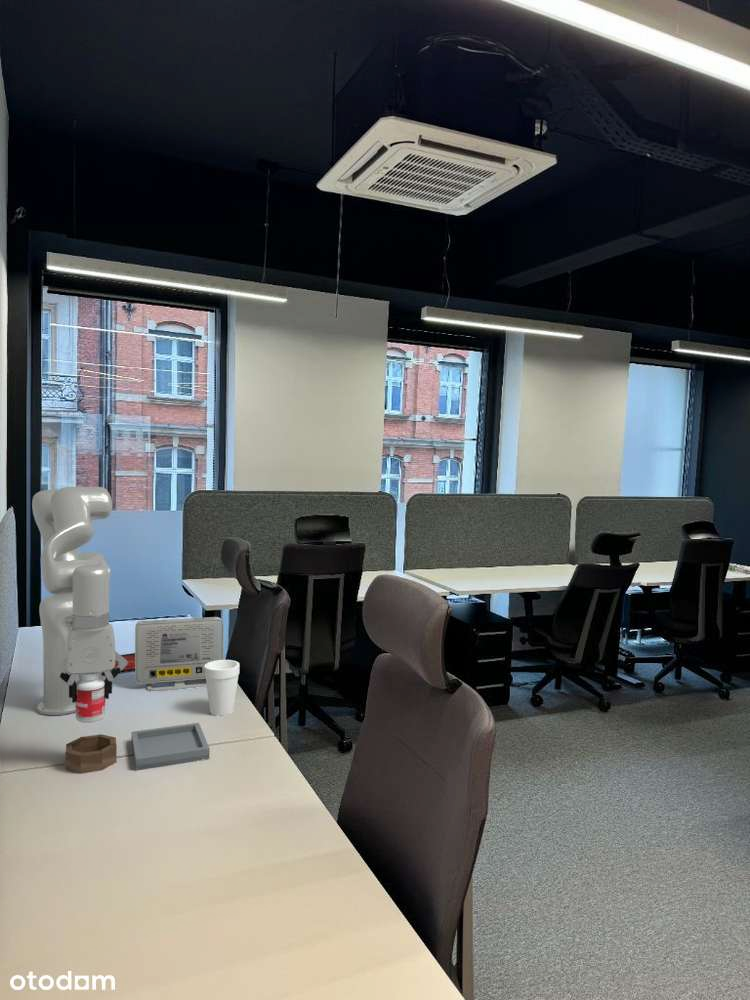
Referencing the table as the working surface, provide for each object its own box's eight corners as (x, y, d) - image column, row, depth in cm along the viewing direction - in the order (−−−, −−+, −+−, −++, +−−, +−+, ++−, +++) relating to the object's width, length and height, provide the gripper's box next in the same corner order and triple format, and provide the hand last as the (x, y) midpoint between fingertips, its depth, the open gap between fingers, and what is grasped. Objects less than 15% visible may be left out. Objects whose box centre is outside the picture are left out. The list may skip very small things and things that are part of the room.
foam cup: (230, 719, 175) (230, 671, 174) (198, 716, 177) (198, 668, 176) (244, 706, 184) (244, 661, 183) (213, 703, 186) (214, 658, 185)
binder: (74, 659, 217) (140, 651, 229) (74, 666, 218) (140, 657, 229) (83, 675, 204) (152, 665, 215) (83, 682, 204) (152, 672, 216)
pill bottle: (70, 717, 148) (70, 670, 148) (97, 710, 153) (97, 664, 152) (83, 726, 145) (84, 677, 144) (110, 718, 149) (110, 670, 148)
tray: (131, 741, 160) (131, 731, 160) (198, 732, 166) (198, 722, 166) (135, 770, 145) (135, 759, 145) (209, 758, 152) (209, 748, 151)
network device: (220, 677, 209) (221, 615, 208) (223, 686, 201) (224, 621, 200) (135, 683, 201) (135, 619, 200) (134, 693, 193) (134, 626, 192)
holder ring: (66, 755, 152) (66, 738, 151) (115, 748, 156) (115, 732, 155) (65, 775, 142) (65, 757, 142) (117, 767, 146) (117, 750, 146)
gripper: (47, 627, 140) (47, 709, 142) (133, 622, 147) (132, 700, 149) (48, 619, 147) (49, 697, 148) (131, 614, 154) (130, 688, 155)
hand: (90, 697), depth 149 cm, fingers closed on pill bottle, 6 cm apart
